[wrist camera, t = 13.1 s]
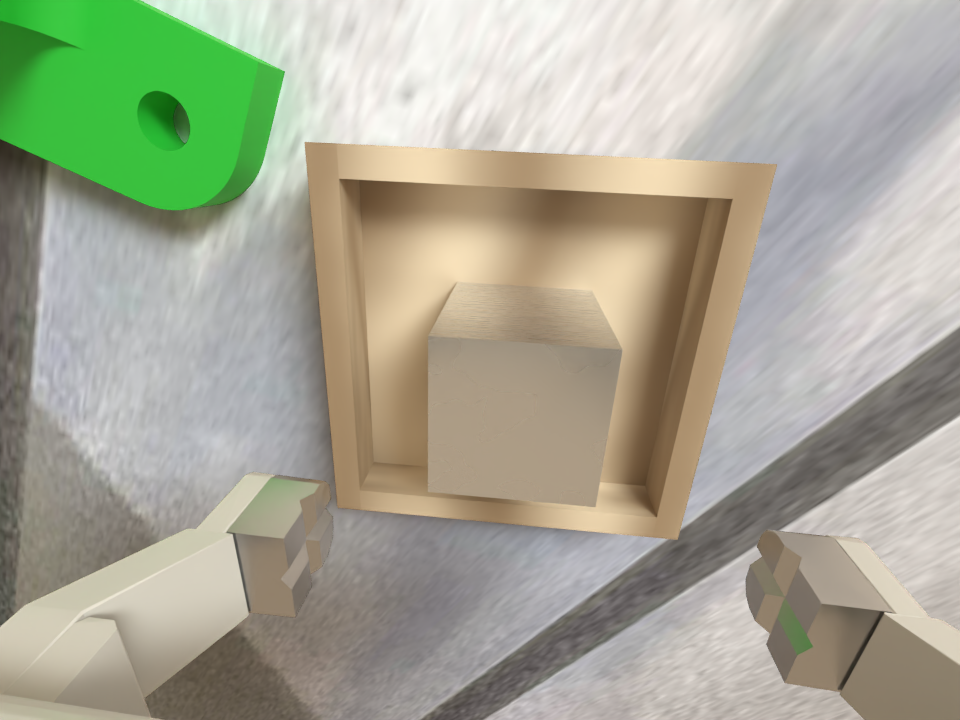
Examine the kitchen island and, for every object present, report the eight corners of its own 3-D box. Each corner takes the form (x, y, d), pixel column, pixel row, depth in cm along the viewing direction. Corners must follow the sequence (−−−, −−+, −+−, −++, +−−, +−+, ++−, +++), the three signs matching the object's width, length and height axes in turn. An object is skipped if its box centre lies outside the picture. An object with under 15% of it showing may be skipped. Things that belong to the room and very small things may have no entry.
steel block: (591, 290, 18) (623, 349, 12) (575, 409, 20) (595, 507, 14) (457, 281, 18) (428, 335, 12) (454, 399, 20) (427, 491, 14)
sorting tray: (735, 163, 17) (777, 164, 14) (658, 492, 22) (677, 539, 19) (339, 144, 17) (304, 141, 15) (360, 465, 23) (337, 507, 20)
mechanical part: (-53, 92, 18) (-448, 47, 11) (-56, -97, 16) (-563, -321, 8) (249, 230, 19) (78, 275, 12) (287, 72, 17) (104, 5, 9)
